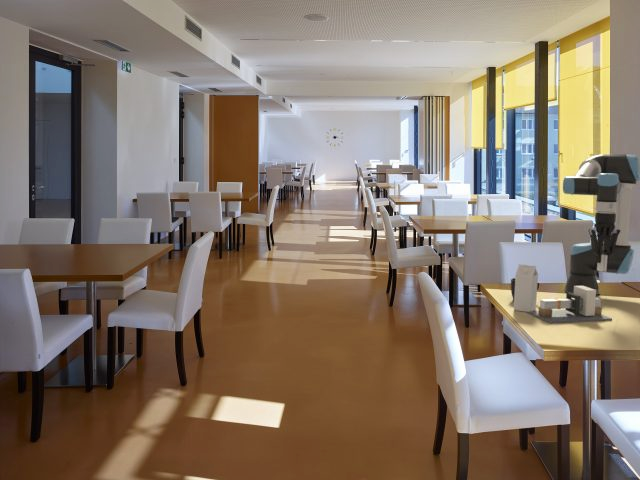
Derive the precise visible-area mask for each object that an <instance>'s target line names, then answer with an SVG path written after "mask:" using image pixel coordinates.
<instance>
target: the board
mask: <svg viewBox="0 0 640 480" xmlns="http://www.w3.org/2000/svg"><path fill="white" fill-rule="evenodd" d="M538 312H539V310H534V311H530V312H528V314H529V315H531V316H533V317H536V318H537V319H540V320H543V321H545V322H546V323H548V324H564V323H566V324H567V323H568V324H569V323H582V322H583V323H584V322H589V321H590V322H606V321H605V320H610V321H613V318H612V317H610V316H607V315H604V314H602V313H601V315H592V316H585V315H582V314H580V313H579V314H574V313H572V312H569V311H567V310H565V309H552V317H551V318H544V317H542V316H540V315H538Z"/></svg>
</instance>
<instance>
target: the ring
mask: <svg viewBox="0 0 640 480" xmlns="http://www.w3.org/2000/svg"><path fill="white" fill-rule="evenodd" d="M565 293H566V297H565V299H567V298H575V305H574V309H573V308H564V310H567V311H569V312H572V313H574V314H579V311H580V296H579V295H576V294H573V293H570V292H565Z"/></svg>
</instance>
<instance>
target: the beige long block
mask: <svg viewBox="0 0 640 480" xmlns="http://www.w3.org/2000/svg"><path fill="white" fill-rule="evenodd" d="M539 301H540V302H539V303H540V304H539V307H538V311H539V312H538V315H540V316H542V317H544V318H551V317H552V311H553V310H564V309H566V308H574V305H575V298H572V297H571V298H567V299H566V298H548V299H547V298H545V299H540V300H539ZM601 303H602V298H599V297H597V296H596V301H595V315H601V314H602V312H603V311H602V309H603V307H602V306H601ZM580 308H583V298H580Z"/></svg>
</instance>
